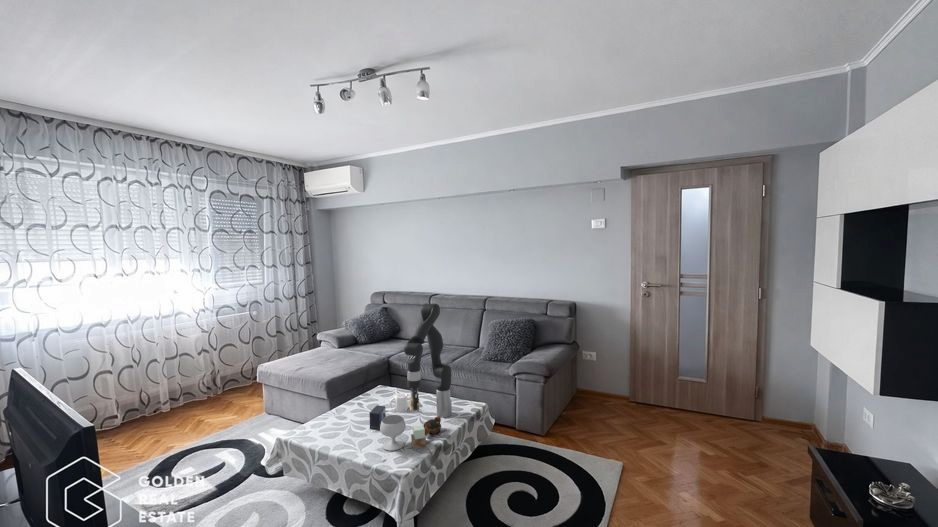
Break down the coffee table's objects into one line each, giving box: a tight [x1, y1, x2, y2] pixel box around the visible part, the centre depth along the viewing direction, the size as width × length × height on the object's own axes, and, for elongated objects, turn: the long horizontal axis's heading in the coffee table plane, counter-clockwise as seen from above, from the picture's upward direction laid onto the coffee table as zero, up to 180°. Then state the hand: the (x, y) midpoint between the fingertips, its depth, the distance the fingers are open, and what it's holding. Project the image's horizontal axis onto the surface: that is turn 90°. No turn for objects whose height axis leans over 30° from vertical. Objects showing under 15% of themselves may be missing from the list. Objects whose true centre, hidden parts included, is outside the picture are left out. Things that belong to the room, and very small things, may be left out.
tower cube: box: [412, 424, 426, 440], centre depth 216 cm, size 6×6×5 cm
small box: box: [369, 405, 387, 430], centre depth 239 cm, size 11×6×10 cm, turn 168°
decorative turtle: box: [422, 415, 442, 437], centre depth 229 cm, size 10×15×8 cm, turn 151°
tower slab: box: [410, 434, 427, 450], centre depth 216 cm, size 7×7×5 cm
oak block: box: [409, 396, 420, 412], centre depth 217 cm, size 5×5×6 cm
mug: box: [389, 392, 409, 413], centre depth 260 cm, size 12×9×10 cm
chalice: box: [379, 414, 406, 452], centre depth 215 cm, size 14×14×15 cm
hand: (414, 407), depth 218 cm, fingers closed on oak block, 4 cm apart
